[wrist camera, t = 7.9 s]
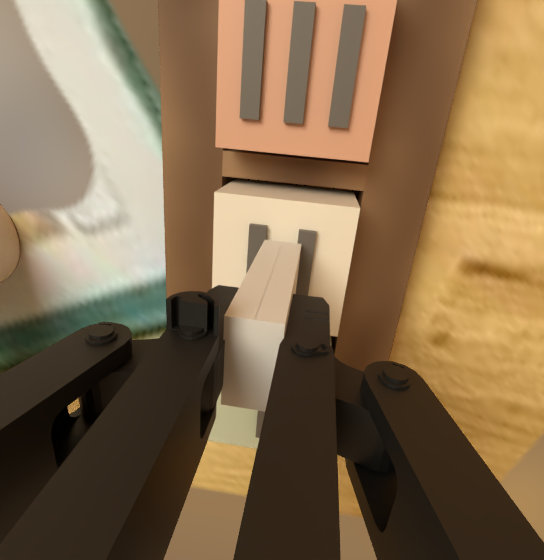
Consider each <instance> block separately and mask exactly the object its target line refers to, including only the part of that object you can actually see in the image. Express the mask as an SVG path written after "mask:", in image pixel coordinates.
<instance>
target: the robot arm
mask: <svg viewBox="0 0 544 560" xmlns="http://www.w3.org/2000/svg"><path fill="white" fill-rule="evenodd" d="M300 253H301V244H297V243H289V242H281V241H272V240H264V242H263V244H262V246H261V247H260V249H259V251H258V253H257V255H256V257H255V259H254V261H253V263H252V264H251V266H250V268H249V270H248V272H247V274H246V276H245V278H244V279H243V281H242V283H241V285H240V287H239V288H238V287H230V286H223V285H218V286H216V287H214V288H212V289H210V290H208V291H207V293H205V292H201V291H186V292H180V293H176V294H173V295H171V296H170V297H168V298H167V299H166V314H167V329H166V330H165V332H164V333H163V334H162V336H161V337H160V338H158V339H147V340H132V333H131V331H130V329H129V328H128V327H126V326H124V325H122V324H118V323H112V322H107V323H106V322H102V323H98V324H94V325H89V326H87V327H85V328H82V329H80V330H78V331H76V332H75V333H73V334H71V335H69V336H68V337H66V338H64V339H62V340H60V341H59V342H57V343H55V344H53V345H52V346H50V347H48V348H46V349H44V350H43V351H41V352H39V353H37V354H36V355H34V356H32V357H30V358H28V359H27V360H25V361H23V362H21V363H20V364H18V365H16V366H14V367H12V368H11V369H9V370H7V371H5V372H4V373H2V374H0V560H163V559H164V556H165V554H166V551H167V548H168V545H169V543H170V540H171V538H172V535H173V532H174V529H175V526H176V524H177V521H178V519H179V516H180V513H181V511H182V508H183V505H184V503H185V500H186V497H187V494H188V492H189V489H190V486H191V484H192V481H193V478H194V476H195V473H196V470H197V468H198V465H199V462H200V459H201V457H202V454H203V451H204V449H205V446H206V443H207V441H208V438H209V435H210V433H211V430H212V427H213V424H214V422H215V419H216V408H217V400H218V397H219V395H220V392H221V405H228V406H234V407H240V408H246V409H252V410H259V411H265V415H264V419H263V424H262V429H261V433H260V438H259V443H258V447H257V452H256V457H255V461H254V466H253V470H252V475H251V480H250V484H249V489H248V494H247V498H246V503H245V508H244V513H243V517H242V522H241V526H240V531H239V536H238V541H237V545H236V550H235V555H234V559H233V560H340V530H339V498H338V466H337V454H338V455H340V456H342V457H344V458H345V461H346V468H347V471H348V474H349V477H350V480H351V482H352V485H353V488H354V491H355V494H356V497H357V500H358V503H359V506H360V509H361V512H362V515H363V518H364V521H365V524H366V527H367V530H368V533H369V536H370V539H371V542H372V545H373V548H374V551H375V554H376V557H377V560H544V542H543V541H542V540H541V538H540V537H539V536H538V534H537V533H536V532H535V530H534V529H533V528H532V526H531V525H530V523H529V522H528V521H527V520H526V518H525V517H524V515H523V514H522V513H521V511H520V510H519V508H518V507H517V506H516V504H515V503H514V502H513V500H512V499H511V498H510V496H509V495H508V494H507V492H506V491H505V490H504V488H503V487H502V485H501V484H500V483H499V481H498V480H497V479H496V477H495V476H494V475H493V473H492V472H491V470H490V469H489V468H488V466H487V465H486V464H485V462H484V461H483V460H482V458H481V457H480V456H479V454H478V453H477V452H476V450H475V449H474V447H473V446H472V445H471V443H470V442H469V441H468V439H467V438H466V437H465V435H464V434H463V433H462V431H461V430H460V428H459V427H458V426H457V424H456V423H455V422H454V420H453V419H452V418H451V416H450V415H449V414H448V412H447V411H446V409H445V408H444V407H443V405H442V404H441V403H440V401H439V400H438V399H437V397H436V396H435V395H434V393H433V392H432V390H431V389H430V388H429V386H428V385H427V384H426V382H425V381H424V380H423V378H422V377H421V376H420V375H418V374H417V373H416V372H415V371H414V370H412V369H410V368H408V367H407V366H405V365H402V364H399V363H396V362H390V361H377V362H373V363H371V364H369V365H367V367H366V369H365V371H364V372H363V371H361V370H358V369H355V368H352V367H350V366H348V365H346V364H344V363H342V362H341V361H339V360H338V359H337V358H336V357H335V356H334V351H333V349H332V346H331V345H330V315H329V314H330V308H329V304H328V303H327V302H326V301H325V299H324V298H322V297H314V296H307V295H299V294H296V286H297V278H298V269H299V261H300ZM77 398H79V403H80V408H78V409H77V410H76V411H75V412H73V413H71V414H69V413H68V408H67V406H68V405H69V404H71V403H72V402H73V401H75V400H76V399H77Z"/></svg>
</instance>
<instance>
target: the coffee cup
mask: <svg viewBox="0 0 544 560" xmlns="http://www.w3.org/2000/svg"><path fill="white" fill-rule="evenodd" d="M19 255H20V245H19V239H18V235H17V232H16V229H15V226H14V224H13V222H12V220H11V218H10V217H9V215H8V214H7V212H6V211H5V210H4V208H3V207H2V206H1V204H0V282H2V281H3V280H5V279H6V278H8V277H9V276H10V275H11V274H12V273H13V271H14V270H15V268H16V266H17V264H18V260H19Z"/></svg>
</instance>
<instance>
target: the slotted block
mask: <svg viewBox="0 0 544 560" xmlns="http://www.w3.org/2000/svg"><path fill="white" fill-rule="evenodd" d="M330 345H331V336H330ZM264 415H265V411H259V410H252V409H246V408H240V407H234V406H228V405H221V392H220V395H219V397H218V400H217V408H216V419H215V422H214V424H213V427H212V430H211V433H210V435H209V438H208V441H213V442H219V443H225V444H231V445H237V446H243V447H249V448H255V449H257V447H258V443H259V438H260V433H261V429H262V424H263V419H264Z"/></svg>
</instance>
